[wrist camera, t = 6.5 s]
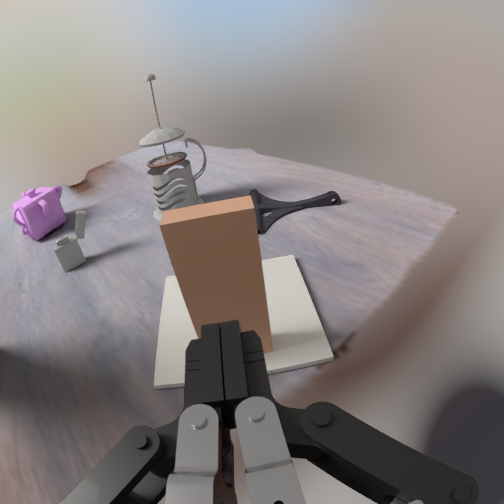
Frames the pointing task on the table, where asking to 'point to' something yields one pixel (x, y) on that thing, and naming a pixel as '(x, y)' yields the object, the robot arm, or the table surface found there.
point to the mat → (280, 316)
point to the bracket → (286, 207)
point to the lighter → (71, 245)
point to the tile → (219, 264)
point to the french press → (160, 164)
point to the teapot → (39, 211)
